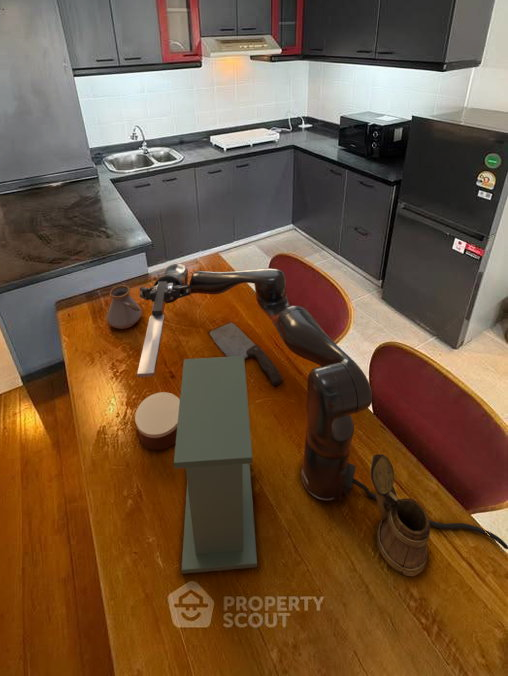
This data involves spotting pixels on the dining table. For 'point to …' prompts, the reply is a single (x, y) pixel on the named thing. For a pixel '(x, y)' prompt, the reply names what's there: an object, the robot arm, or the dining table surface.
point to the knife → (153, 334)
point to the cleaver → (244, 349)
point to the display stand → (216, 465)
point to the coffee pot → (122, 308)
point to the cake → (158, 420)
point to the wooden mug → (399, 523)
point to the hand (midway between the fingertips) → (159, 296)
